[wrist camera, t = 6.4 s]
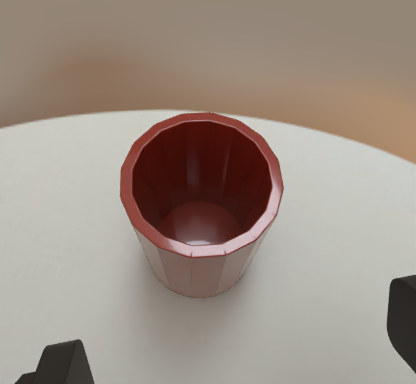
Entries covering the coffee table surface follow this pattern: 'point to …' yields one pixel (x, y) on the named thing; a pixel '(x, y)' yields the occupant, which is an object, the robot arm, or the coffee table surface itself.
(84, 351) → the robot arm
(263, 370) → the coffee table surface
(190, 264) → the red cup
